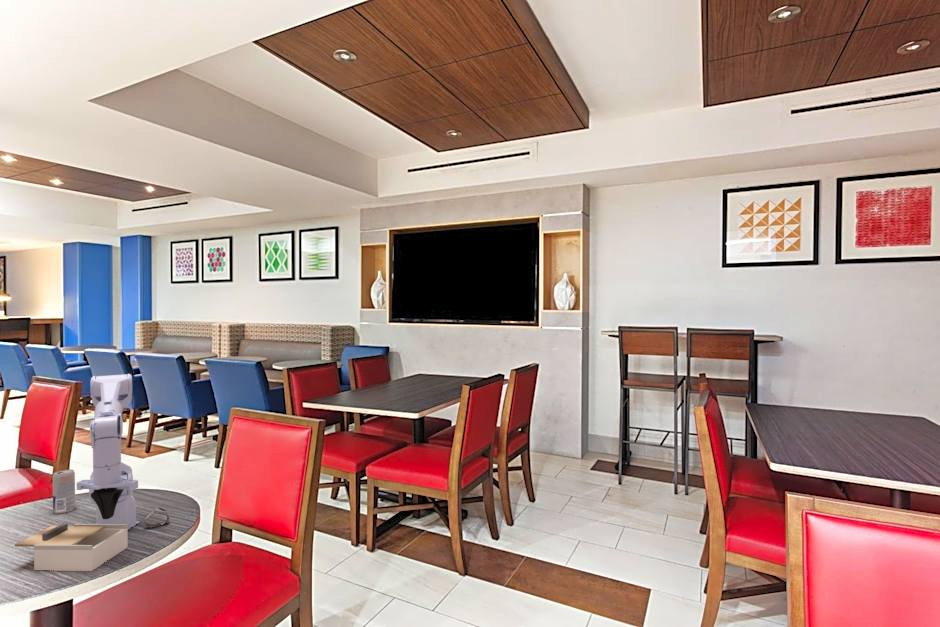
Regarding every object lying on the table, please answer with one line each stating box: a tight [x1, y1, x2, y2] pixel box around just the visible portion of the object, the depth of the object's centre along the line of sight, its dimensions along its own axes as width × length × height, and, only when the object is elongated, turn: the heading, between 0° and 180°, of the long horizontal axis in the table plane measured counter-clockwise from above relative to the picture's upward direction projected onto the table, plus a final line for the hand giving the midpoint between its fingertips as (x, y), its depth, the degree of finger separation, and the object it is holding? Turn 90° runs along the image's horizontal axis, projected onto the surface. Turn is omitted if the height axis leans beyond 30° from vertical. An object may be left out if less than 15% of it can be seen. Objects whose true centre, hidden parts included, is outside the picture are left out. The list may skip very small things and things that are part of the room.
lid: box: [14, 523, 104, 548], centre depth 126 cm, size 10×14×2 cm
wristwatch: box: [143, 507, 170, 529], centre depth 144 cm, size 4×6×5 cm, turn 133°
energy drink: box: [52, 469, 76, 515], centre depth 155 cm, size 5×5×12 cm
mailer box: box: [33, 523, 129, 572], centre depth 125 cm, size 12×14×6 cm
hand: (108, 517), depth 127 cm, fingers closed
